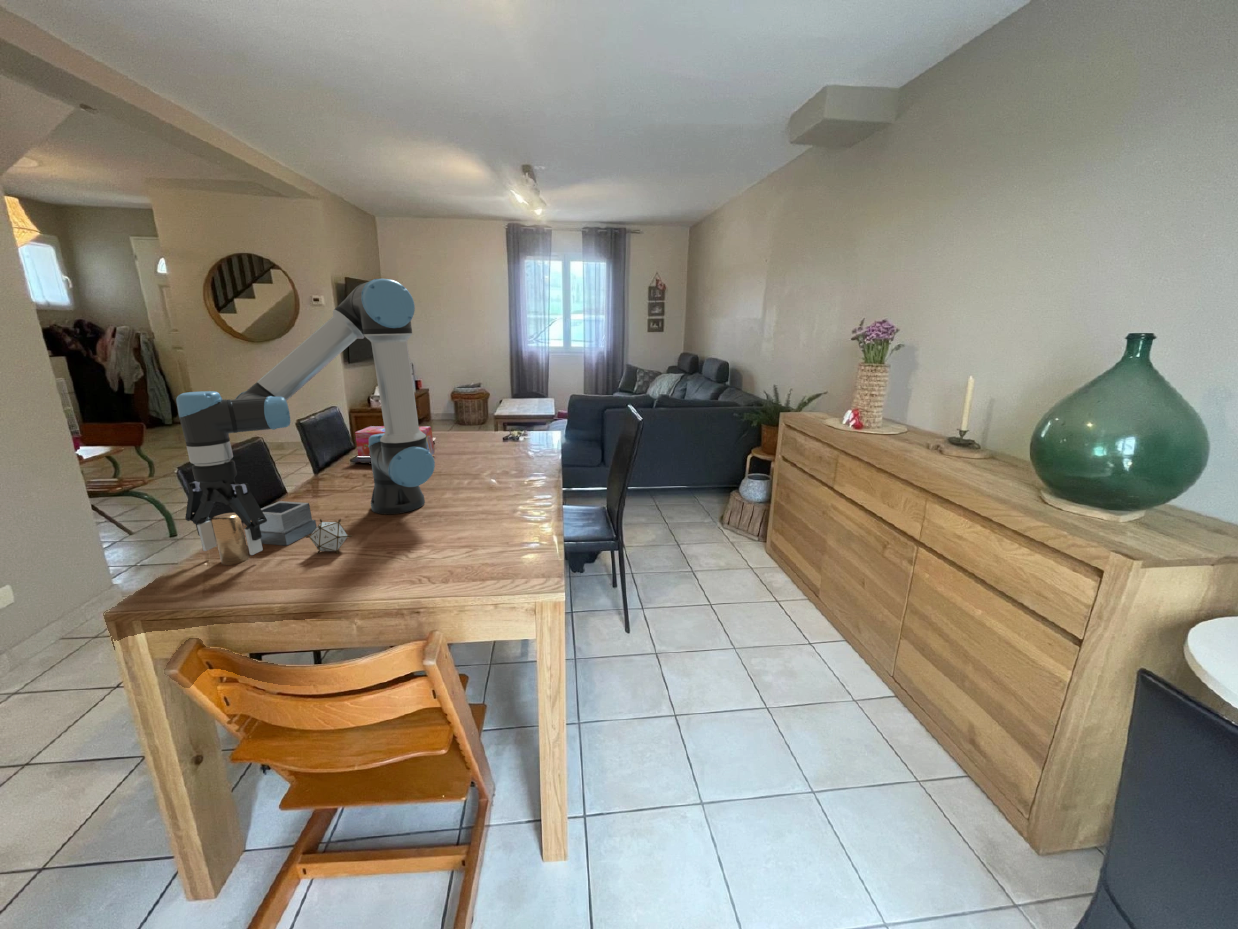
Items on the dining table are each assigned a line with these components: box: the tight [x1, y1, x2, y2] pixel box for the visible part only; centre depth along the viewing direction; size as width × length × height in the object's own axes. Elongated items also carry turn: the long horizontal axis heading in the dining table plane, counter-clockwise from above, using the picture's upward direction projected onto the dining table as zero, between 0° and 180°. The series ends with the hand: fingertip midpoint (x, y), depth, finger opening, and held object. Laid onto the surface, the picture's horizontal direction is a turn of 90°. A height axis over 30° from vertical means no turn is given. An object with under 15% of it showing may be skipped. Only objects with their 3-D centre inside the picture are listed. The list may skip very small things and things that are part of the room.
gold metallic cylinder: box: [210, 512, 250, 566], centre depth 113 cm, size 5×5×11 cm
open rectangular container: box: [260, 500, 318, 546], centre depth 127 cm, size 14×10×8 cm
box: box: [354, 425, 435, 456], centre depth 202 cm, size 27×13×14 cm, turn 86°
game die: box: [304, 518, 353, 555], centre depth 118 cm, size 9×8×10 cm
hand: (233, 550), depth 114 cm, fingers open, 12 cm apart
